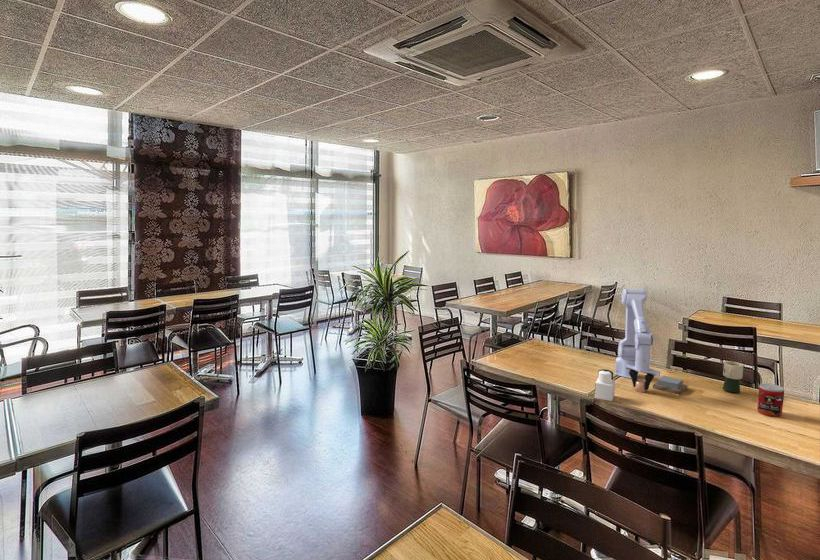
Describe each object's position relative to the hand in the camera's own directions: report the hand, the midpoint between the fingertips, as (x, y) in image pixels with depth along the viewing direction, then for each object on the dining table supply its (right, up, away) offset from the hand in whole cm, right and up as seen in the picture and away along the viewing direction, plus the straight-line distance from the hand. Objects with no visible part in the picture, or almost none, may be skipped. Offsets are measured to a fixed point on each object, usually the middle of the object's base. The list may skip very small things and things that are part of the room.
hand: (640, 387), depth 199 cm
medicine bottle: (-19, -3, -7) cm, 21 cm away
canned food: (+38, -4, -24) cm, 46 cm away
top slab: (+15, +1, +3) cm, 15 cm away
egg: (0, -1, 0) cm, 1 cm away
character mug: (+40, -2, -1) cm, 40 cm away
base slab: (+15, -2, +3) cm, 15 cm away
